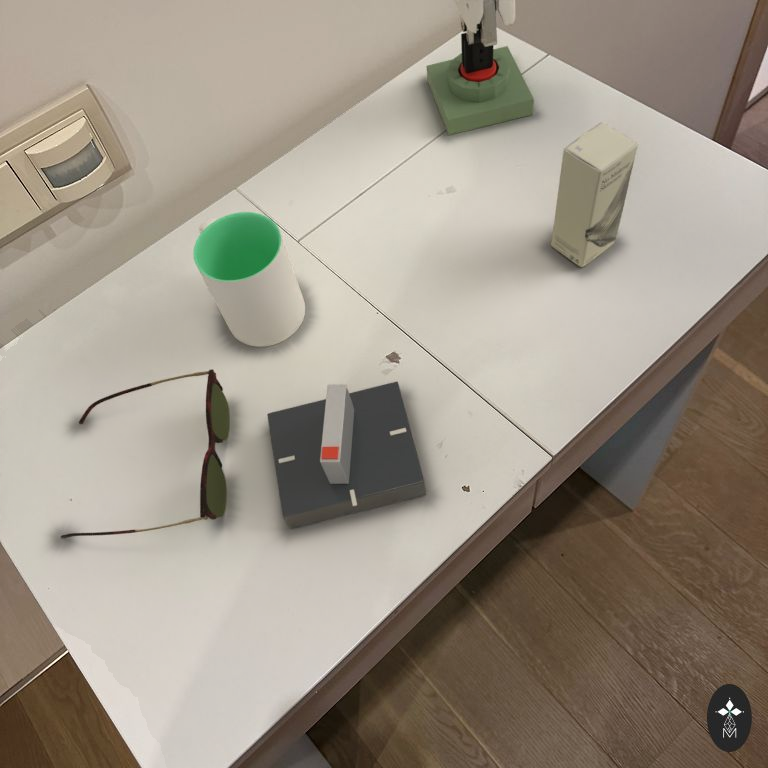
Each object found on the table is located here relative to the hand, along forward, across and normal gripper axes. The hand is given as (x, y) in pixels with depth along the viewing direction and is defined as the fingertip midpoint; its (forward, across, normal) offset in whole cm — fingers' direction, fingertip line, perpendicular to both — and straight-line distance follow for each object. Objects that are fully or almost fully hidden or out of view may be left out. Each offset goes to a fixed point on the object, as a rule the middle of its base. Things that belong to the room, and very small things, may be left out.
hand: (477, 66), depth 85 cm
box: (+4, -25, -4) cm, 26 cm away
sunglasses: (+4, -38, +42) cm, 57 cm away
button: (+2, 0, 0) cm, 2 cm away
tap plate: (+4, -42, +24) cm, 49 cm away
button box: (+4, 0, 0) cm, 4 cm away
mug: (+4, -22, +30) cm, 37 cm away
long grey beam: (+1, -42, +24) cm, 48 cm away
